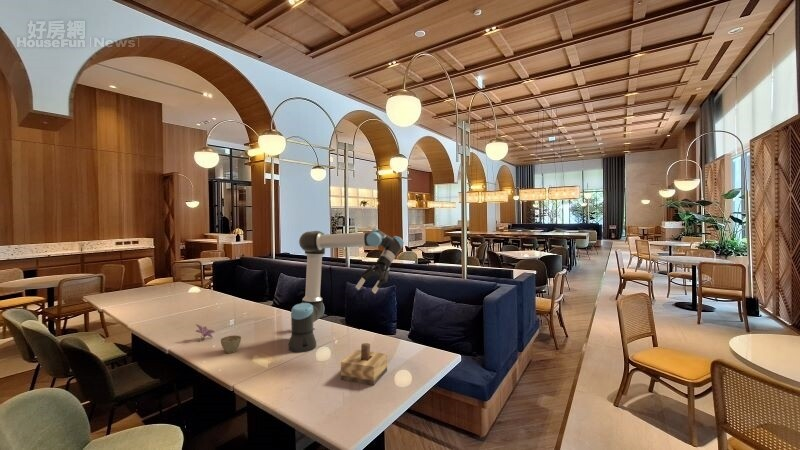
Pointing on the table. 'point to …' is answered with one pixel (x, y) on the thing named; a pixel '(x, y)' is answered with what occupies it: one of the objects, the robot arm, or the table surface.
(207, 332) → the lily
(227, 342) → the flower pot
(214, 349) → the table surface
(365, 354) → the pin
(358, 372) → the socket block
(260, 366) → the table surface
